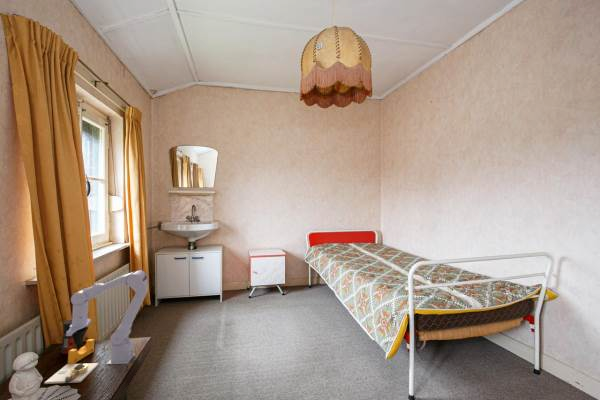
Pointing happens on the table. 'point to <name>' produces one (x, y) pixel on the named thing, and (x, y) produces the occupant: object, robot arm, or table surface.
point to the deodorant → (67, 338)
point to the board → (66, 371)
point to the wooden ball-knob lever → (76, 372)
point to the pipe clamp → (80, 352)
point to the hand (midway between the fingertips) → (78, 344)
